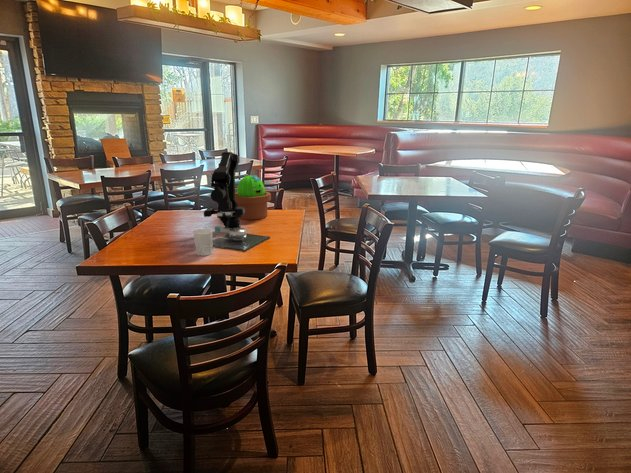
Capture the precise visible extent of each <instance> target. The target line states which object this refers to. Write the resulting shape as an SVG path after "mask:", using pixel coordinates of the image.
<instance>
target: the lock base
mask: <svg viewBox="0 0 631 473" xmlns="http://www.w3.org/2000/svg"><path fill="white" fill-rule="evenodd" d="M269 239H271V236H268V235H263V234H262V235H260V234H252V233H247V236H246V237H244V238H239V239H234V238H230V235H229V233H225V234H224V235H222V236H216V238H215V239H213V247H212V248H220V249H226V250H230V251H231V250H234V251H239V252H247V251H249V250H250V249H253V248H255V247H257V246H259V245H260V244H262V243H265V241H268V240H269Z"/></svg>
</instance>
